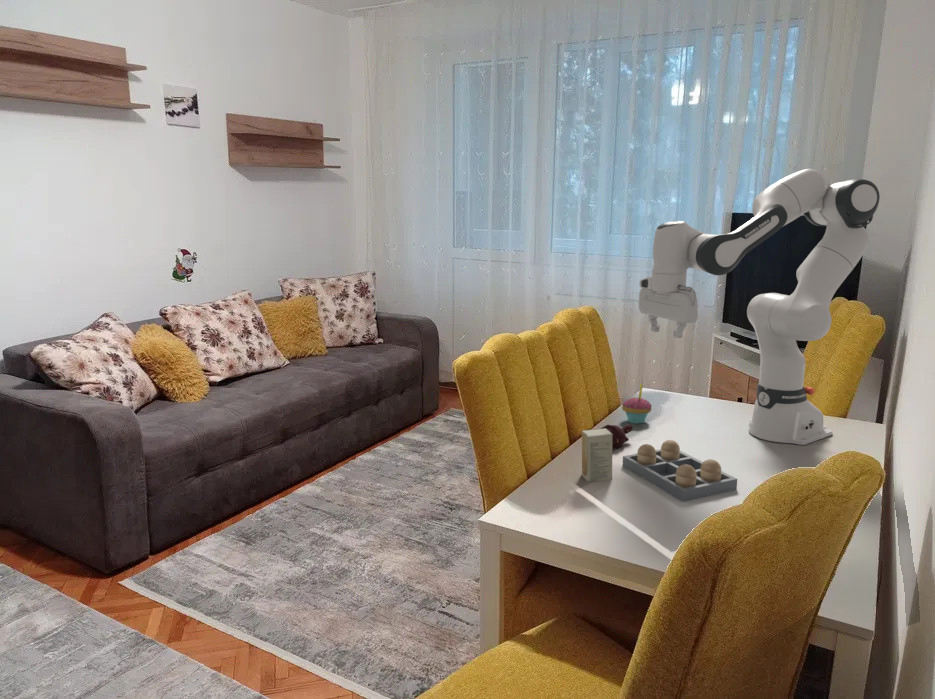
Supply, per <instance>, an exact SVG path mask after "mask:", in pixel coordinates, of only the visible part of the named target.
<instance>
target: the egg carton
mask: <svg viewBox="0 0 935 699" xmlns="http://www.w3.org/2000/svg"><path fill="white" fill-rule="evenodd" d="M655 450H656V463H655V464H649V465H642V464H640V463H639V462H637V453H634V454H628V455H627V454H626V455H623V456H622V467H623V468H625V469H627V470H629V471H630V472H632V473H634V474H635V475H637V476H638V477H639V478H642V479H644V480H645V481H647V482H649V483H651V484H652V485H654V486H656V488H659V489H661V490H662V491H664V492H666V493H668V494H669V495H671V496H672V497H674V498H676V499H678V500H679V501H681V502H687V501H691V500H692V501H693V500H697V499H700V498H705V497H709V496H714V495H718V494H722V493H723V494H724V493H727V492H733V491H737V490H738V489H737V488H738V478H736V477H734V476H733V475H730V474H728V473H727V472H724V471H722V470H721V480H719V481H715V482H710V483H709V482H707V481H705V480H704V479H702V478H700V471H701V465H702V463H703V462H704V461H702V460H700V459H698V458H695V457H694V456H692V455H690V454H688V453H686V452H684V451H682V450H680V456H679V459H675V460H670V461H667V460H666V459H664V458H662V457H661V448H659V449H655ZM684 464H688V465H691V466H692V467H693V468H694V469H695V470H696V474H697V477H696V486H691V487H687V488H683V487H681V486H679V485H678V484H676V483H675V479H676V470H677V468H678V467H679V466H681V465H684Z"/></svg>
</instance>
